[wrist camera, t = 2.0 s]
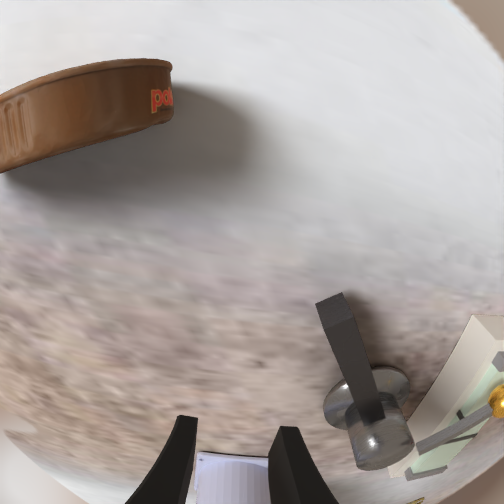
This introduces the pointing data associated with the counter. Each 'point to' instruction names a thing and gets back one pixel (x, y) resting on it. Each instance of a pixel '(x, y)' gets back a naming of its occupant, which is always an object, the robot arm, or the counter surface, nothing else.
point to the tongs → (417, 501)
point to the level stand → (456, 396)
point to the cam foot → (379, 398)
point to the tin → (82, 108)
